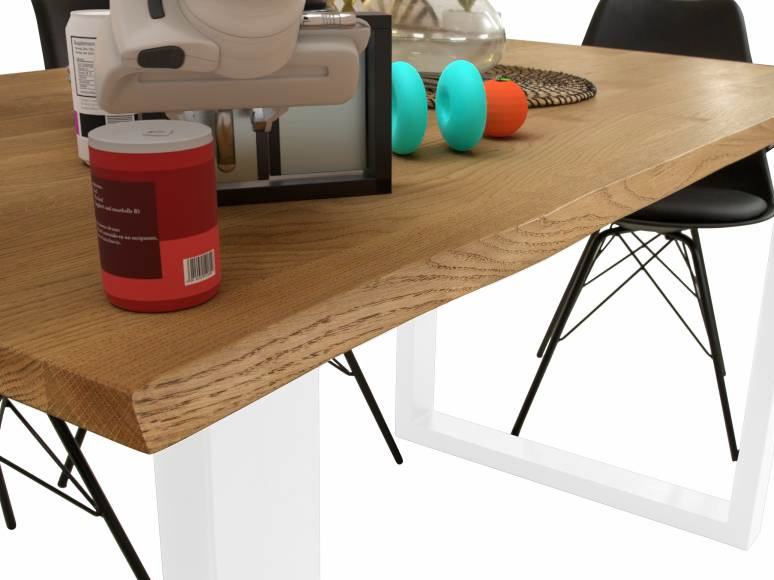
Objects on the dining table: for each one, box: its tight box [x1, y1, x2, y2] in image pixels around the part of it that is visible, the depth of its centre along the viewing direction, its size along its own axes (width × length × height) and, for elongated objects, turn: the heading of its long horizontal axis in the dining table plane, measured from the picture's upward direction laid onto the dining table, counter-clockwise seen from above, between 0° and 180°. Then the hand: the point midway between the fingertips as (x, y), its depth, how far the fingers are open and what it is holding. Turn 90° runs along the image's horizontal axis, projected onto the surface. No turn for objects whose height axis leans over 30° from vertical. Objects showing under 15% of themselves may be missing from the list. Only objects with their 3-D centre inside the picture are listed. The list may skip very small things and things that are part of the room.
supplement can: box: [64, 8, 138, 167], centre depth 102 cm, size 8×8×15 cm
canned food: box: [88, 119, 222, 313], centre depth 66 cm, size 8×8×11 cm
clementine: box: [483, 76, 529, 138], centre depth 121 cm, size 8×7×7 cm
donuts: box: [392, 59, 487, 156], centre depth 111 cm, size 10×10×10 cm
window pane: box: [164, 108, 270, 183], centre depth 85 cm, size 9×5×13 cm, turn 112°
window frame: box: [138, 10, 393, 207], centre depth 90 cm, size 22×4×16 cm, turn 112°
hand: (222, 126), depth 85 cm, fingers open, 5 cm apart
